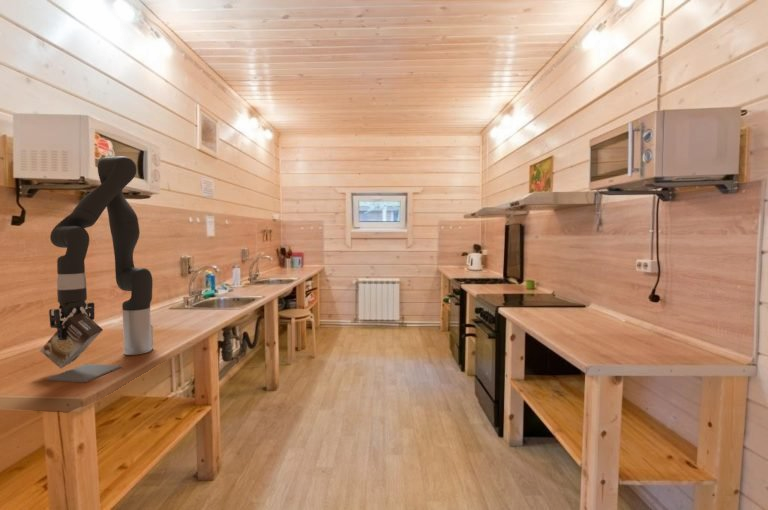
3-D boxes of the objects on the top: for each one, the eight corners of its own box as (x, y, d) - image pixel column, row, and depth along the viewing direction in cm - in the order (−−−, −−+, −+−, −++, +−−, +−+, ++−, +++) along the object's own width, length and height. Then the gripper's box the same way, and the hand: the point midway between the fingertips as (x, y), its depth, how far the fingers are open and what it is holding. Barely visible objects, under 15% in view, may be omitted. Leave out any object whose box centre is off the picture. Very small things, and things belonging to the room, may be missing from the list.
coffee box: (37, 350, 127) (67, 317, 125) (54, 343, 133) (82, 310, 131) (60, 369, 128) (90, 336, 126) (76, 360, 134) (104, 329, 132)
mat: (86, 365, 138) (85, 363, 138) (121, 367, 136) (121, 365, 136) (46, 380, 124) (46, 378, 124) (85, 382, 122) (85, 380, 122)
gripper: (60, 290, 120) (63, 343, 121) (101, 284, 135) (102, 332, 136) (39, 290, 122) (42, 342, 122) (81, 284, 136) (83, 331, 137)
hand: (74, 336), depth 129 cm, fingers closed on coffee box, 7 cm apart
